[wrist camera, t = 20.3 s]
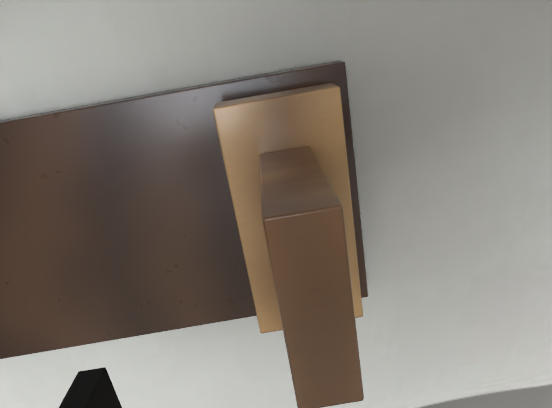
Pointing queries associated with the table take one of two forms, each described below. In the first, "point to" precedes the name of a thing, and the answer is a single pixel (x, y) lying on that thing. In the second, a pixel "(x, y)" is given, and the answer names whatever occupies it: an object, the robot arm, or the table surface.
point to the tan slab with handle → (298, 232)
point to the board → (130, 216)
